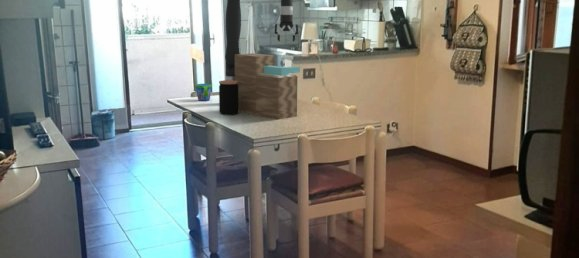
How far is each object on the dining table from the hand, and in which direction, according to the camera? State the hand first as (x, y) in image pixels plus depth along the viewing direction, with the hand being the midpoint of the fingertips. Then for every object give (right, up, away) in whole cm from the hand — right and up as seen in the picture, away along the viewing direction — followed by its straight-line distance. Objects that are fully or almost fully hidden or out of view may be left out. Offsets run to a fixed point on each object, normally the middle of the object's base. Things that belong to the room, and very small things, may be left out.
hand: (286, 41), depth 343 cm
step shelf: (-12, -44, -26) cm, 53 cm away
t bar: (0, -23, -33) cm, 40 cm away
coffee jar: (-32, -45, -28) cm, 62 cm away
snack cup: (-52, -35, +16) cm, 65 cm away
